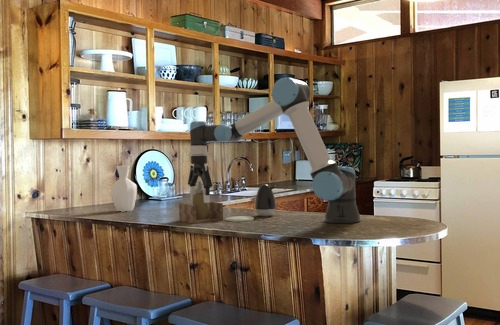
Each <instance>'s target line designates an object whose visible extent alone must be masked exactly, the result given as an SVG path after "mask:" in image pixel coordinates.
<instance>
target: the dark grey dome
mask: <svg viewBox="0 0 500 325" xmlns="http://www.w3.org/2000/svg"><path fill="white" fill-rule="evenodd" d="M275 188H276V189H277V186H276V185H273V186H270V185H269V184H267V183H263V184H261V185H260V186H259V188H258V189H257V193H256V196H255V200H254V209H255V212H256V213H257V215H258V216H260V217H271V216H273V215H274V214H275V212H276V209H277V202H276V198H275V195H274V191H273V189H275Z"/></svg>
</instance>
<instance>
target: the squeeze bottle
mask: <svg viewBox="0 0 500 325" xmlns="http://www.w3.org/2000/svg"><path fill="white" fill-rule="evenodd" d="M203 187H204V186H203V182H202V180H200V181H198V182H197V187H196V189H195V193H196V194H194V195H193V200H192V205H196V220H204V219H209V218H208V217H209V213H210V210H209V203H204V192H203Z"/></svg>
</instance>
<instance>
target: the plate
mask: <svg viewBox="0 0 500 325" xmlns="http://www.w3.org/2000/svg"><path fill="white" fill-rule="evenodd" d="M229 221H230V223H233V222H234V223H235V222H236V223H241V222H243V223H244V222H250V221H255V217H253V216H249V215H247V216H243V215H242V216H241V215H239V216H228V217H225V222H229Z"/></svg>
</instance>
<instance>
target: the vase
mask: <svg viewBox="0 0 500 325" xmlns="http://www.w3.org/2000/svg"><path fill="white" fill-rule="evenodd" d="M115 167H116V170H117V173H118V176H119V179H117V180H116V181H115V182H114V183H112V185H111V186H110V192H111V193H110V194H111V197H112V201H113V204H114V207H115V208H116V210H117V211H116V212H118V211H121V212H120V213H124V212H125V211H127V212H133V211H134V209H135V204H136V201H137V195H138V185H137V184H136V183H135V182H134V181H132V180H130V178H128V176H129V171H130V167H131V165H116V166H115Z"/></svg>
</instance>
